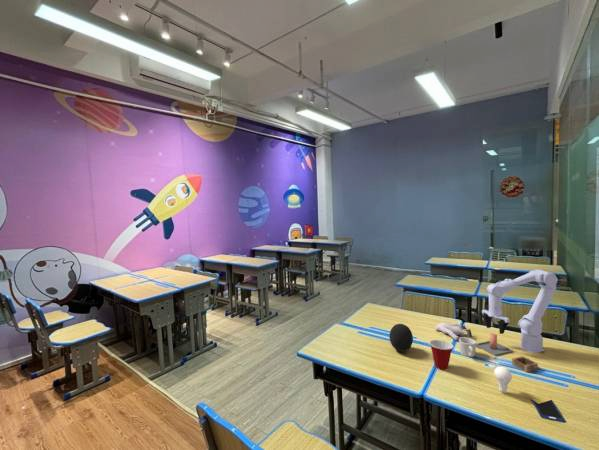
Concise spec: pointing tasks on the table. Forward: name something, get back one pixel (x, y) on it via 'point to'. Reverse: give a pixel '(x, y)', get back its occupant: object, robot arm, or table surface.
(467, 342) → the cup
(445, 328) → the yeti figurine
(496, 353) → the tray
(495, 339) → the pink rounded capsule
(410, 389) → the table surface
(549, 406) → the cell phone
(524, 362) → the holder
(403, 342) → the decorative egg
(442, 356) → the plastic cup
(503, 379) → the lightbulb
